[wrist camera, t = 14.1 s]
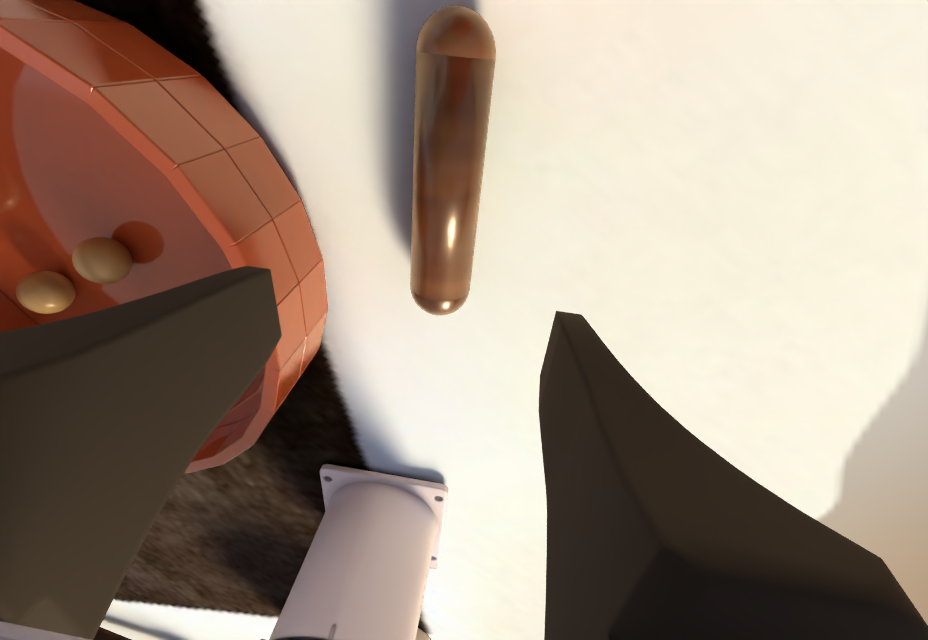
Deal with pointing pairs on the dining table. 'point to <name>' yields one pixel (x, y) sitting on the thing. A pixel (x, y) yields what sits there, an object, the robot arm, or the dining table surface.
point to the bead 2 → (102, 260)
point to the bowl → (144, 188)
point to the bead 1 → (45, 292)
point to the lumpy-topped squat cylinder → (421, 635)
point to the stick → (449, 153)
